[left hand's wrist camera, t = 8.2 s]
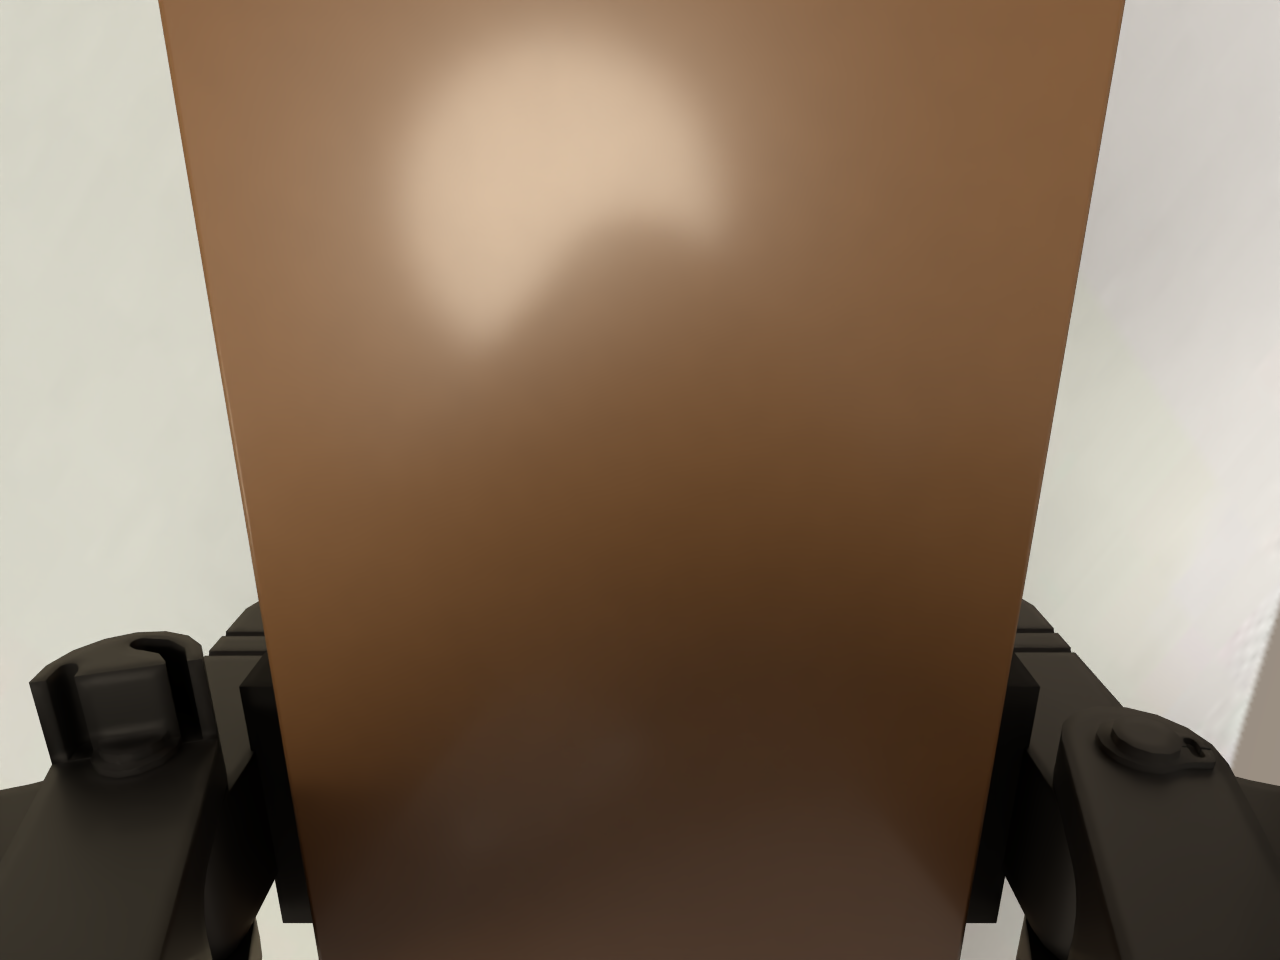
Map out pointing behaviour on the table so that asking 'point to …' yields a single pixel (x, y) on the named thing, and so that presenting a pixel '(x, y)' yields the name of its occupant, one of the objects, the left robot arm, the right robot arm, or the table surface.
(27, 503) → the table surface
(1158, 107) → the table surface
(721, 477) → the bar
